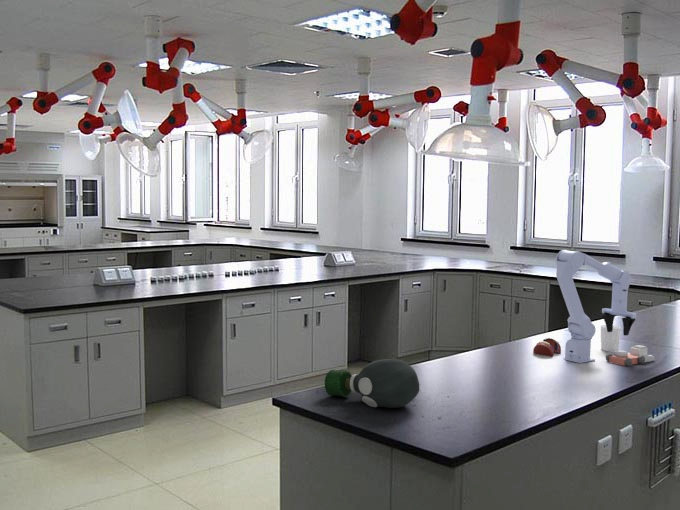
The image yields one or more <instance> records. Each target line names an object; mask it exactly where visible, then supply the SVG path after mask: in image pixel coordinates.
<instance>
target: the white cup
mask: <svg viewBox="0 0 680 510" xmlns="http://www.w3.org/2000/svg"><path fill="white" fill-rule="evenodd" d="M621 330H622V327H621V326H619V325H614V324H613V330H612V332H607V327H606V324H603V325H600V343H601V344H600V347H601V350H602V351H604V352H609V351H611V352H612V353H613V351H614V353H616V352H615V351H617V350H620V349H619V348H620V342H621V341H620V339H621Z"/></svg>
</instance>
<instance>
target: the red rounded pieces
mask: <svg viewBox="0 0 680 510" xmlns="http://www.w3.org/2000/svg"><path fill="white" fill-rule="evenodd" d="M532 350H533V351H532V352H533V353H532V354H534V355H538V356H546V357H554V354H562V347H561V344H560V343H559V341H557V340H556V339H554V338H552V337H551V338H550V337H548V338H547V337H545V338H544V339H543V341H539V342H537V343H536V345H534V347H533V349H532Z"/></svg>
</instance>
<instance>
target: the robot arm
mask: <svg viewBox="0 0 680 510" xmlns="http://www.w3.org/2000/svg"><path fill="white" fill-rule="evenodd" d="M554 259H555V263H556V275H555V276H556V279H557V282H558V285H559V287H560V291H561V294H562V297H563V299H564V303H565V306H566V308H567V311H568V314H569V316H568V318H567V330H568V333H570V336H571V337H570V338H569V339H568V340H566V342H565V349H564V350H565V352H564V357H563V359H562V360H565V361H569V362H570V361H571V362H573V363H577V364H581V363H588V362H594V361H596V359H595V358H592V357H591V347H592V346H591V345H592V344H591V343H592V338H593V337H594V336H595V334H596V325H595V324H593V322H592V320H591V318H590V317H589V316H588V315H587V314H586V313H585V312H584V308H583V306H582V301H581V299H580V296H579V294H578V291H577V290H578V289H577V288H576V285H575V282H574V278H573V277H574V276H575V274H577V272H578V271H579V270H580V269H581V268H582V267H583V266H586V267H587V268H588V267H589V268H591V269H592V270H593V269H594V270H595V271H597V274H598V275H599V276H600V277H603V278H604V279H607V280H609V281H610V283H612V291H611V305H610V306H611V307H610V308H607V307H605V308H602V309H601V313H602V314H601V315H602V316H601V317H602V319H603V320H604V323H605V325H606V327H607V332H612V330H613V325H614V321H615V317H616V316H618V317H621V319H622V326H623V328H622V329H623V330H622V331H623V336H629V334H630V331H631V328H632V325H633V324H634V323H635V321H636V319H637V313H635V312H631V311H628V309H627V308H628V294H629V293H628V292H629V291H628V290H629V289H630V285H631V283H632V281H633V277H631V276H632V275H631V274H630V272H629V271H626V270H622V269H621V267H620V266H619V267H618V266H617V267H616V266H615V265H613V263H612V262H610V261H604V262H600V261H598V260H597V259H595V258H593V257H592V256H590V255H588V254H586V253H584V252H581V251H575V250H574V251H572V250H567V249H562V250H559V252H558V253H557V255H556V256H555V258H554Z"/></svg>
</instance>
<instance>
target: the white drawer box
mask: <svg viewBox="0 0 680 510" xmlns="http://www.w3.org/2000/svg"><path fill="white" fill-rule="evenodd" d="M648 349H649V348H648V347H647V346H646V345H645V346H644V345H640V344H638V345H636V344H635V345H633V346H631V347H630V352H629V353H630V354H631V355H636V356H647V355H648Z"/></svg>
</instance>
